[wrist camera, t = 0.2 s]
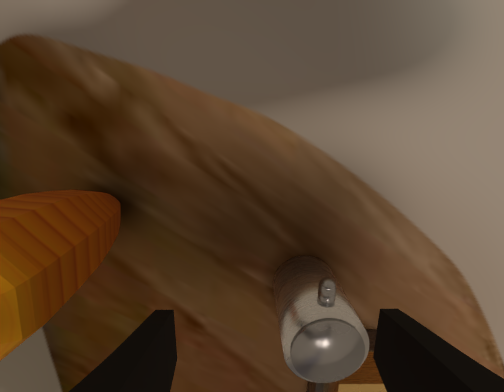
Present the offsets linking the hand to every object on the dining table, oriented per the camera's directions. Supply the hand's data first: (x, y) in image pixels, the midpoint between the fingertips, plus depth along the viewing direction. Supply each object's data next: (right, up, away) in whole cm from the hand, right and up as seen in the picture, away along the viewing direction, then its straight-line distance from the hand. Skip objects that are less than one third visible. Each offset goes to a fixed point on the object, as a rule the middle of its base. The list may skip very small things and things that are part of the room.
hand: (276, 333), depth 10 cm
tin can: (+3, -2, +11) cm, 11 cm away
